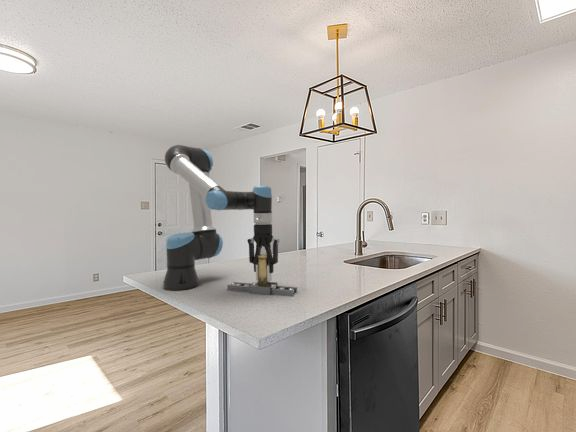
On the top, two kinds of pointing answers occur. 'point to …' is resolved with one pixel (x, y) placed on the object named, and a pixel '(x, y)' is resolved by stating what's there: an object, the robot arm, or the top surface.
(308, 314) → the top surface
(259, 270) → the pin
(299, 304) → the top surface
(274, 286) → the chain joint
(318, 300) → the top surface
